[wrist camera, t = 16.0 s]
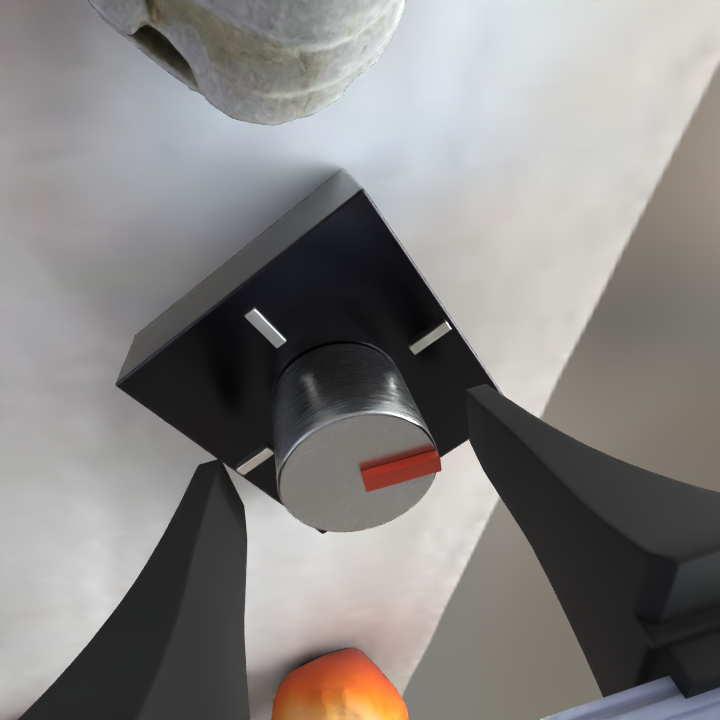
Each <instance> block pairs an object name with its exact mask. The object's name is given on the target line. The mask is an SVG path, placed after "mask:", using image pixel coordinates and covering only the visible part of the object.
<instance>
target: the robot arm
mask: <svg viewBox="0 0 720 720" xmlns="http://www.w3.org/2000/svg"><path fill="white" fill-rule="evenodd" d="M466 400H467V414H468V428H469V441H470V443H471V445H472V447H473V449H474V452H475V454H476V456H477V458H478V460H479V462H480V464H481V466H482V468H483V470H484V472H485V473H486V475H487V477H488V478H489V480H490V481H491V483H492V484H493V486H494V488H495V489H496V491H497V492H498V494H499V495H500V497H501V499H502V500H503V502H504V503H505V505H506V506H507V508H508V509H509V511H510V512H511V514H512V516H513V517H514V519H515V520H516V522H517V523H518V525H519V526H520V528H521V530H522V531H523V533H524V534H525V536H526V538H527V539H528V541H529V543H530V545H531V546H532V548H533V550H534V552H535V554H536V556H537V558H538V560H539V562H540V564H541V566H542V567H543V569H544V571H545V573H546V575H547V577H548V579H549V581H550V583H551V585H552V587H553V589H554V591H555V593H556V595H557V598H558V600H559V601H560V603H561V605H562V608H563V610H564V612H565V614H566V616H567V618H568V620H569V622H570V625H571V627H572V629H573V631H574V633H575V635H576V637H577V640H578V642H579V644H580V646H581V648H582V650H583V652H584V655H585V657H586V659H587V661H588V664H589V666H590V668H591V670H592V673H593V675H594V677H595V679H596V682H597V684H598V686H599V688H600V691H601V693H602V695H603V698H601V699H598V700H595V701H592V702H589V703H586V704H583V705H580V706H577V707H575V708H571V709H569V710H566V711H563V712H560V713H557V714H554V715H551V716H548V717H545V718H542V719H539V720H720V492H716V491H712V490H708V489H704V488H701V487H697V486H693V485H690V484H687V483H684V482H681V481H677V480H674V479H671V478H668V477H664V476H662V475H658V474H655V473H653V472H650V471H647V470H645V469H642V468H639V467H637V466H634V465H631V464H629V463H626V462H623V461H621V460H619V459H616V458H614V457H612V456H609V455H607V454H605V453H603V452H601V451H598V450H596V449H594V448H592V447H589V446H587V445H585V444H583V443H581V442H579V441H577V440H575V439H574V438H572V437H570V436H568V435H566V434H564V433H562V432H561V431H559V430H557V429H555V428H554V427H552V426H550V425H548V424H547V423H545V422H543V421H542V420H540V419H539V418H537V417H535V416H534V415H532V414H531V413H529V412H527V411H526V410H524V409H523V408H521V407H520V406H518V405H517V404H515V403H514V402H512V401H511V400H509V399H508V398H506V397H505V396H503V395H502V394H500V393H499V392H497V391H496V390H494V389H493V388H491V387H490V386H488V385H487V384H484V385H480V386H477V387H473V388H470V389H466ZM246 562H247V532H246V520H245V510H244V505H243V503H242V501H241V499H240V497H239V495H238V493H237V491H236V489H235V487H234V484H233V482H232V480H231V478H230V476H229V474H228V472H227V470H226V468H225V466H224V464H223V462H222V460H221V459H217V460H214V461H210V462H207V463H203V464H200V465H199V466H198V467H197V469H196V471H195V473H194V475H193V477H192V479H191V481H190V483H189V486H188V488H187V490H186V492H185V494H184V496H183V498H182V500H181V502H180V504H179V506H178V508H177V510H176V512H175V514H174V516H173V517H172V519H171V521H170V523H169V525H168V527H167V529H166V531H165V533H164V534H163V536H162V538H161V540H160V541H159V543H158V545H157V547H156V548H155V550H154V552H153V553H152V555H151V557H150V558H149V560H148V562H147V564H146V565H145V567H144V568H143V570H142V571H141V573H140V575H139V576H138V578H137V579H136V581H135V582H134V584H133V585H132V587H131V588H130V590H129V591H128V592H127V594H126V595H125V597H124V598H123V600H122V601H121V602H120V604H119V605H118V607H117V608H116V609H115V611H114V612H113V613H112V614H111V616H110V617H109V618H108V619H107V621H106V622H105V623H104V625H103V626H102V627H101V628H100V630H99V631H98V632H97V633H96V635H95V636H94V637H93V639H92V640H91V641H90V642H89V643H88V645H87V646H86V647H85V648H84V649H83V651H82V652H81V653H80V654H79V655H78V656H77V657H76V659H75V660H74V661H73V662H72V663H71V664H70V666H69V667H68V668H67V669H66V670H65V671H64V672H63V673H62V674H61V675H60V677H59V678H58V679H57V680H56V681H55V682H54V683H53V684H52V685H51V686H50V687H49V689H48V690H47V691H46V692H45V693H44V694H43V695H42V696H41V697H40V698H39V699H38V700H37V701H36V702H35V703H34V704H33V705H32V706H31V707H30V708H29V709H28V710H27V711H26V712H25V713H24V714H23V715H22V716H21V717H20V718H19V719H18V720H250V713H249V700H248V687H247V674H246V657H245V640H244V612H245V588H246Z"/></svg>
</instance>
